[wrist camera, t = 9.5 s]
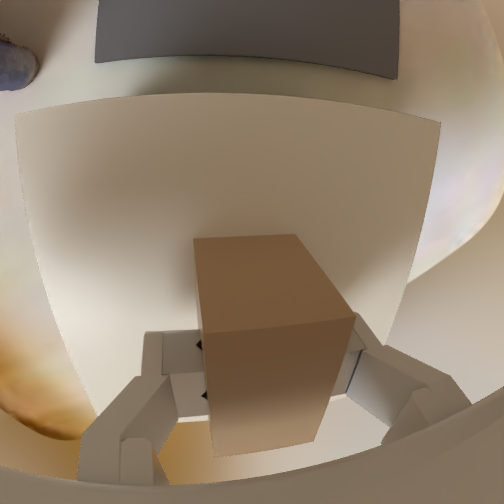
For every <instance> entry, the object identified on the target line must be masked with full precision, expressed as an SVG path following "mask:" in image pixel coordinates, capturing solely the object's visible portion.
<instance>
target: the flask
mask: <svg viewBox="0 0 504 504" xmlns="http://www.w3.org/2000/svg"><path fill="white" fill-rule="evenodd" d="M38 68H39V64H38V60H37V58H36V56H35V55H34V54H33V53H32V52H30V51H29V50H28V48H25V47H24V46H23V47H18V46H16V45H15V44H14V43H13V44H12V42H10V41H9V38H7V37H5V34H4V35H2V34H1V33H0V91H4V90H10V91H13V90H19V89H22V88H25V87H26V85H27V84H28V83H29V84H30V83H31V82H32V81H33V79H34V77H35V76H36V73H37V70H38ZM31 80H32V81H31ZM29 84H28V85H29Z"/></svg>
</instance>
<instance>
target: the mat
mask: <svg viewBox="0 0 504 504" xmlns="http://www.w3.org/2000/svg"><path fill="white" fill-rule="evenodd" d="M399 23H400V11H399V0H99V7H98V17H97V29H96V45H95V63H103V62H110V61H118V60H128V59H138V58H150V57H167V56H241V57H258V58H270V59H281V60H290V61H299V62H306V63H313V64H320V65H327V66H333V67H338V68H344V69H349V70H354V71H359V72H364V73H368V74H373V75H377V76H381V77H385V78H390V79H397V77H398V60H399Z"/></svg>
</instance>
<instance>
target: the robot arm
mask: <svg viewBox="0 0 504 504" xmlns="http://www.w3.org/2000/svg"><path fill="white" fill-rule="evenodd" d="M354 313H355V315H356V320H355V323H354V327H353V330H352V333H351V337H350V340H349V343H348V346H347V350H346V353H345V356H344V359H343V362H342V365H341V368H340V371H339V374H338V377H337V380H336V383H335V386H334V389H333V391H332V394H331V396H336V395H341V394H346V395H347V396H348V397H349V398H351V399H352V400H353V401H355V402H356V403H357V404H359V405H360V406H361V407H363V408H364V409H366V410H367V411H368V412H370V413H371V414H372V415H374V416H375V417H376V418H378V419H379V420H380V421H382V422H383V423H385V424H386V425H387V426H389V427H390V429H389V430H388V432H387V433H386V435H385V436H384V438H383V440H382V442H381V444H382V445H381V446H378V447H375V448H372V449H369V450H366V451H363V452H360V453H357V454H354V455H350V456H348V457H344V458H340V459H337V460H333V461H330V462H326V463H322V464H319V465H314V466H310V467H306V468H301V469H297V470H292V471H287V472H282V473H277V474H272V475H266V476H260V477H254V478H247V479H240V480H232V481H223V482H213V483H201V484H184V485H170V484H169V481H168V479H167V477H166V474H165V472H164V470H163V468H162V466H161V463H160V461H159V459H158V457H157V455H158V453H159V452H160V450H161V448H162V447H163V445H164V443H165V442H166V440H167V438H168V437H169V435H170V433H171V431H172V430H173V428H174V426H175V425H176V423H177V421H178V420H179V419H178V418H182V417H193V416H204V415H209V409H208V399H207V392H206V390H207V387H206V375H205V366H204V359H203V351H202V345H201V334H200V329H195V330H167V331H145V334H144V338H143V350H142V362H141V376H135V377H134V378H133V379H132V380H131V381H130V382H129V383H128V384H127V386H126V387H125V388H124V389H123V390H122V391H121V392H120V393H119V394H118V395H117V397H116V398H115V399H114V400H113V401H112V402H111V403H110V404H109V405H108V406H107V407H106V409H105V410H104V411H103V412H102V413H101V414H100V415H99V416H98V417H97V418H96V420H95V421H94V422H93V423H92V424H91V425H90V426H89V427H88V428H87V429H86V431H85V432H84V433H83V434H82V439H81V447H80V455H79V456H80V457H79V464H78V474H77V481H76V480H69V479H61V478H56V477H50V476H44V475H39V474H34V473H29V472H24V471H20V470H16V469H11V468H8V467H4V466H0V504H504V386H503V387H502V388H500V389H499V390H497V391H495V392H494V393H492V394H490V395H489V396H487V397H485V398H484V399H482V400H480V401H478V402H476V403H475V404H473V405H472V404H471V402H470V401H469V399H468V398H467V397H466V396H465V394H464V393H463V392H462V390H461V389H460V388H459V386H458V385H457V384H456V382H455V381H454V380H453V379H452V377H451V376H450V375H447V374H445V373H443V372H441V371H439V370H437V369H435V368H433V367H431V366H429V365H427V364H425V363H423V362H421V361H419V360H417V359H414V358H412V357H410V356H408V355H406V354H404V353H402V352H400V351H398V350H396V349H394V348H392V347H390V346H388V345H384V346H383V345H382V344H381V343H380V341H379V340H378V339H377V337H376V336H375V334H374V333H373V332H372V330H371V329H370V328H369V326H368V325H367V324H366V322H365V321H364V320H363V318H362V317H361V315H360V314H359V313H357V312H354Z"/></svg>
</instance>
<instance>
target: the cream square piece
mask: <svg viewBox="0 0 504 504" xmlns="http://www.w3.org/2000/svg"><path fill="white" fill-rule="evenodd" d="M440 127H441V122H437V121H433V120H429V119H425V118H421V117H417V116H413V115H408V114H404V113H399V112H394V111H390V110H385V109H379V108H374V107H368V106H363V105H357V104H350V103H344V102H337V101H329V100H321V99H313V98H304V97H293V96H282V95H267V94H248V93H171V94H152V95H138V96H127V97H117V98H108V99H99V100H92V101H85V102H78V103H72V104H66V105H60V106H54V107H49V108H44V109H39V110H34V111H30V112H25V113H21V114H17V115H15V130H16V144H17V154H18V164H19V172H20V179H21V186H22V193H23V199H24V204H25V210H26V215H27V220H28V225H29V230H30V234H31V239H32V243H33V247H34V251H35V255H36V259H37V263H38V267H39V270H40V274H41V277H42V281H43V284H44V287H45V290H46V294H47V297H48V300H49V303H50V306H51V309H52V312H53V315H54V318H55V320H56V323H57V326H58V329H59V331H60V334H61V336H62V339H63V342H64V344H65V347H66V349H67V352H68V354H69V356H70V359H71V361H72V363H73V366H74V368H75V370H76V372H77V375H78V377H79V379H80V381H81V383H82V385H83V388H84V390H85V392H86V394H87V396H88V398H89V400H90V402H91V404H92V406H93V408H94V410H95V411H96V413H97V415H98V416H99V415H100V414H101V413H102V412H103V411H104V410H105V409H106V407H107V406H108V405H109V404H110V403H111V402H112V401H113V400H114V399H115V398H116V397H117V395H118V394H119V393H120V392H121V391H122V390H123V389H124V388H125V387H126V386H127V384H128V383H129V382H130V381H131V380H132V379H133V378H134V377H135V376H141V362H142V350H143V338H144V334H145V331H167V330H195V329H200V334H201V345H202V351H203V359H204V366H205V375H206V387H207V390H206V392H207V399H208V409H209V415H204V416H193V417H182V418H178V419H179V420H178V421H177V422H191V421H204V420H209V426H210V433H211V440H212V446H213V452H214V457H223V456H232V455H240V454H248V453H254V452H261V451H267V450H273V449H278V448H283V447H288V446H294V445H298V444H303V443H308V442H312V441H314V439H315V436H316V434H317V431H318V428H319V426H320V423H321V421H322V418H323V416H324V413H325V411H326V408H327V405H328V403H329V401H333V400H338V399H342V398H346V397H348V396H347V395H346V394H341V395H336V396H331V394H332V391H333V389H334V386H335V383H336V380H337V377H338V374H339V371H340V368H341V365H342V362H343V359H344V356H345V353H346V350H347V346H348V343H349V340H350V337H351V333H352V330H353V327H354V323H355V320H356V315H355V313H354V312H357V313H359V314H360V315H361V317H362V318H363V320H364V321H365V322H366V324H367V325H368V326H369V328H370V329H371V330H372V332H373V333H374V334H375V336H376V337H377V339H378V340H379V341H380V343H381V344H382V345H383V346H384V345H385V343H386V341H387V338H388V335H389V332H390V330H391V327H392V325H393V322H394V319H395V316H396V313H397V310H398V308H399V305H400V302H401V299H402V296H403V293H404V289H405V286H406V283H407V280H408V277H409V273H410V270H411V267H412V263H413V260H414V256H415V252H416V249H417V245H418V241H419V237H420V233H421V229H422V225H423V221H424V217H425V212H426V208H427V203H428V199H429V194H430V189H431V184H432V179H433V173H434V167H435V161H436V155H437V149H438V142H439V134H440Z"/></svg>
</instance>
